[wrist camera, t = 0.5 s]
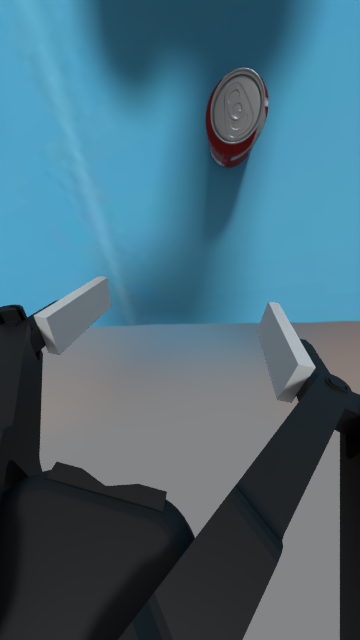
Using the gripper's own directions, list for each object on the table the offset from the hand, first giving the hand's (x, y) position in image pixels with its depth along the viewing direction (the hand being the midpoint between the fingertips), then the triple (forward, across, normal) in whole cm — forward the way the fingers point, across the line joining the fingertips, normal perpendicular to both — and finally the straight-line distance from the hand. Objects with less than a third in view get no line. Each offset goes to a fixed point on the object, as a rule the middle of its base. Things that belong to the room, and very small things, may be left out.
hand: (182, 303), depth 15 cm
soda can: (+28, +2, +16) cm, 32 cm away
